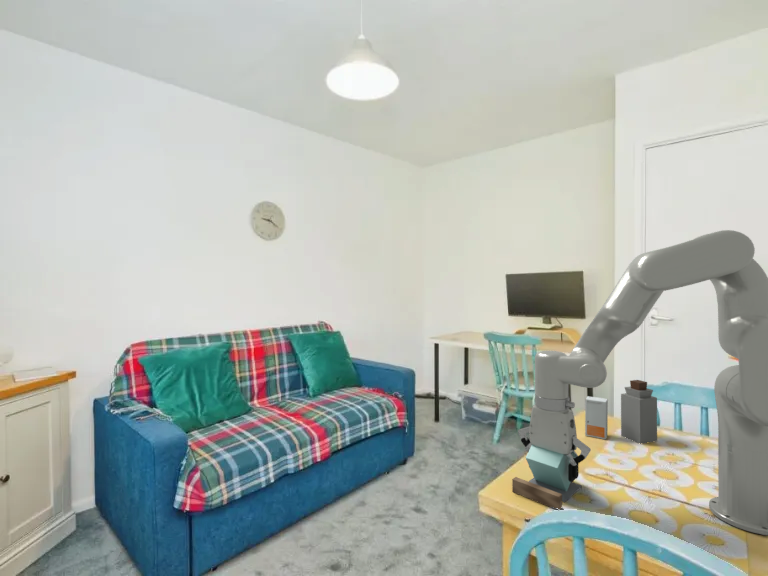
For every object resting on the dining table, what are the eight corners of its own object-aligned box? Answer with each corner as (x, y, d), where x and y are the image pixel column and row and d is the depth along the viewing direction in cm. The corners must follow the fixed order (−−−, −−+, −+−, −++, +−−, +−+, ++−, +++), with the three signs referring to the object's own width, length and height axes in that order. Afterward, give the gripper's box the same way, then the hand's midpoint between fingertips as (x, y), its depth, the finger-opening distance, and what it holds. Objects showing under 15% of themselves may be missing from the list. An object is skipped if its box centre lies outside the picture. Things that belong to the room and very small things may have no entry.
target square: (581, 486, 97) (581, 485, 97) (564, 502, 90) (564, 501, 90) (541, 472, 104) (541, 471, 104) (522, 486, 97) (522, 485, 97)
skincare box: (585, 436, 128) (584, 398, 128) (587, 431, 132) (586, 395, 131) (606, 440, 125) (606, 401, 124) (608, 435, 128) (607, 398, 128)
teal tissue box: (577, 465, 99) (568, 441, 95) (566, 491, 94) (557, 468, 91) (546, 455, 104) (537, 432, 101) (535, 480, 100) (525, 457, 97)
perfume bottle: (657, 441, 123) (656, 383, 123) (640, 444, 121) (639, 384, 121) (637, 433, 130) (637, 378, 129) (621, 435, 128) (620, 379, 128)
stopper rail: (562, 507, 88) (561, 494, 88) (558, 510, 87) (558, 496, 87) (515, 489, 96) (515, 476, 96) (512, 491, 95) (512, 479, 95)
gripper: (595, 407, 93) (596, 480, 93) (525, 392, 106) (526, 457, 106) (583, 414, 88) (583, 491, 88) (511, 398, 101) (511, 466, 101)
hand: (552, 472), depth 97 cm, fingers open, 9 cm apart
